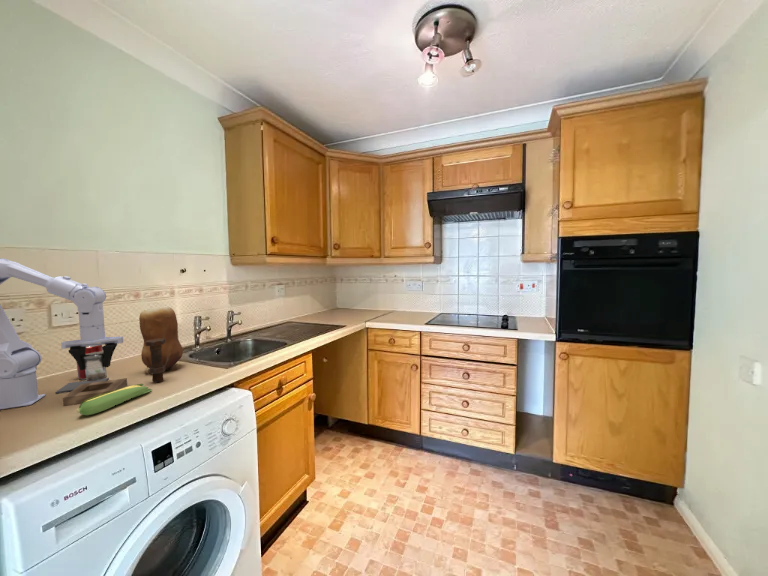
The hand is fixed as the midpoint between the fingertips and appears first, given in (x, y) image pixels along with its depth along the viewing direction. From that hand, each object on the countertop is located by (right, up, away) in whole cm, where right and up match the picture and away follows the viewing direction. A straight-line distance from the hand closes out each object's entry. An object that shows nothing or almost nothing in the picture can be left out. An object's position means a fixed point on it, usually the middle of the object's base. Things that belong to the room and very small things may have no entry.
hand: (95, 367), depth 100 cm
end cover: (0, -3, 0) cm, 4 cm away
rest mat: (-12, -8, +8) cm, 17 cm away
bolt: (+12, -8, +11) cm, 18 cm away
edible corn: (+13, -10, -6) cm, 17 cm away
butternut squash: (+4, -7, +25) cm, 26 cm away
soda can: (-18, -8, +18) cm, 26 cm away
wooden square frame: (0, -9, +1) cm, 9 cm away
